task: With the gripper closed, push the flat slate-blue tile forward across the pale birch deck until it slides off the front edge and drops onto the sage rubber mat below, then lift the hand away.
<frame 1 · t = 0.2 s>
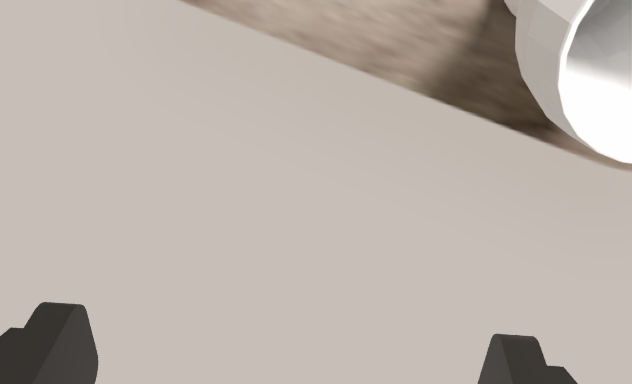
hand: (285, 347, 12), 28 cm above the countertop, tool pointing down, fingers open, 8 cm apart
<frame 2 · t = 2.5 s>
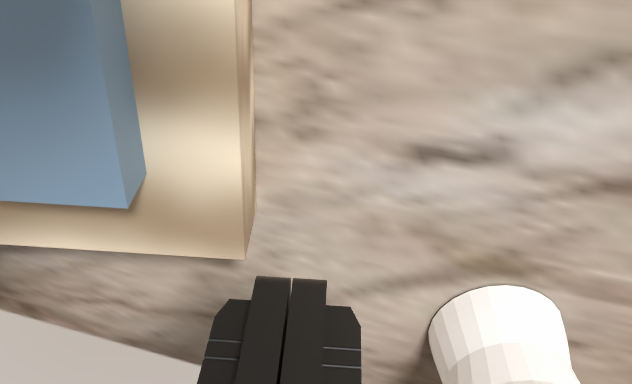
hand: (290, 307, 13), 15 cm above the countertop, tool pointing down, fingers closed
deck: (114, 33, 25), on the countertop
tile: (37, 82, 21), point 5 cm above the countertop, touching deck
white vase: (493, 328, 35), on the countertop
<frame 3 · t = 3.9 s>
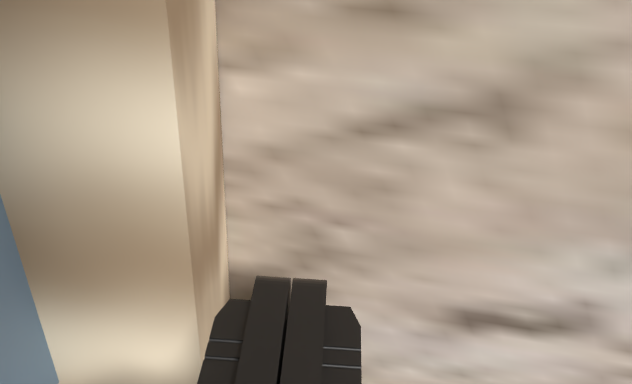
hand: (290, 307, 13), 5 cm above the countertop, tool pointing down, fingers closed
deck: (17, 161, 17), on the countertop
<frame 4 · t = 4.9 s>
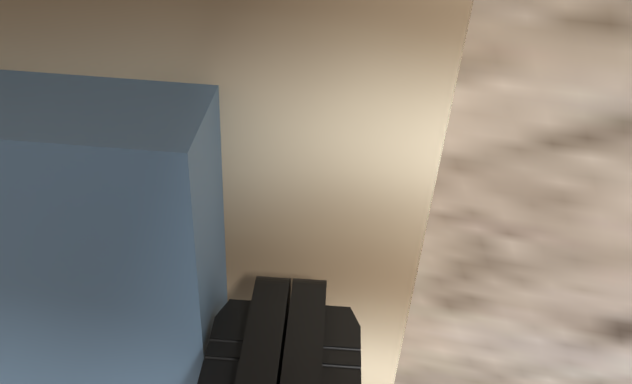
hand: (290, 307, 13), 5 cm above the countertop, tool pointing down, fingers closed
deck: (193, 169, 17), on the countertop
tile: (74, 296, 12), point 5 cm above the countertop, touching deck, gripper
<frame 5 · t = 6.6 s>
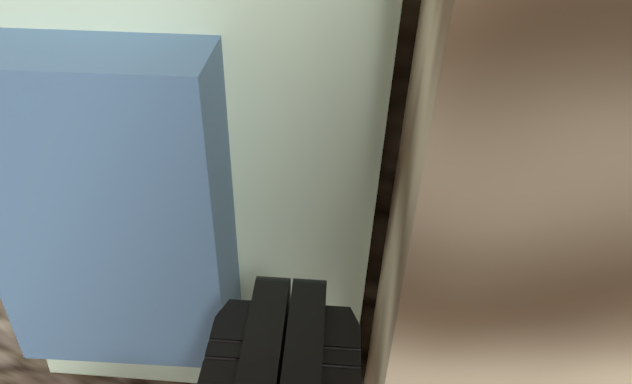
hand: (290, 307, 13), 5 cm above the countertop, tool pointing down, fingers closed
deck: (606, 195, 16), on the countertop
tile: (112, 213, 15), point 2 cm above the countertop, tilted 180°, touching mat
mat: (184, 165, 17), on the countertop
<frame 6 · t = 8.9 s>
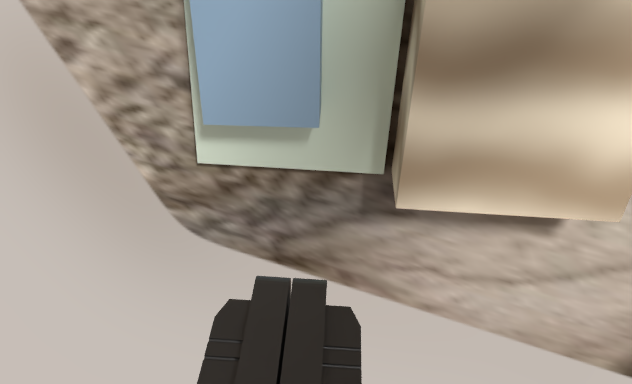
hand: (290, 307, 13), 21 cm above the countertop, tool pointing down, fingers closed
deck: (529, 25, 30), on the countertop
tile: (260, 32, 29), point 2 cm above the countertop, tilted 180°, touching mat
mat: (294, 12, 30), on the countertop
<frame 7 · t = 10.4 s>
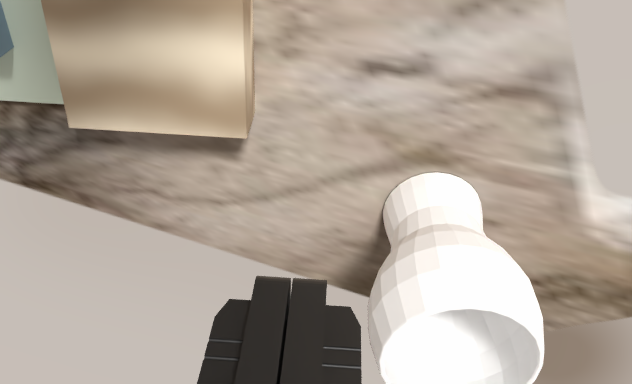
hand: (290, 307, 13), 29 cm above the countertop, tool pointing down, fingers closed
white vase: (431, 211, 47), on the countertop
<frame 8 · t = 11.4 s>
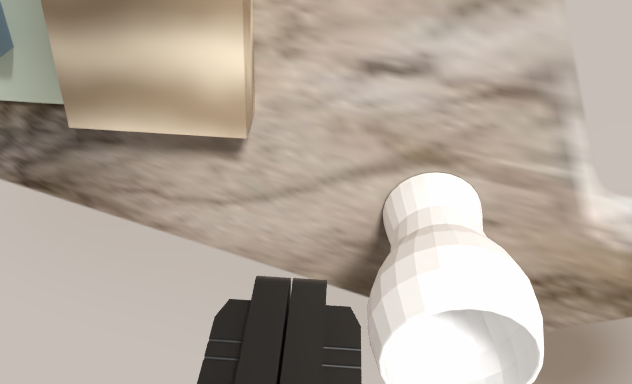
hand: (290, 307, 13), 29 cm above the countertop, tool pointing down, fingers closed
white vase: (431, 211, 47), on the countertop
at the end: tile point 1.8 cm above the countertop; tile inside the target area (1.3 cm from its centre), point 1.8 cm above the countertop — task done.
